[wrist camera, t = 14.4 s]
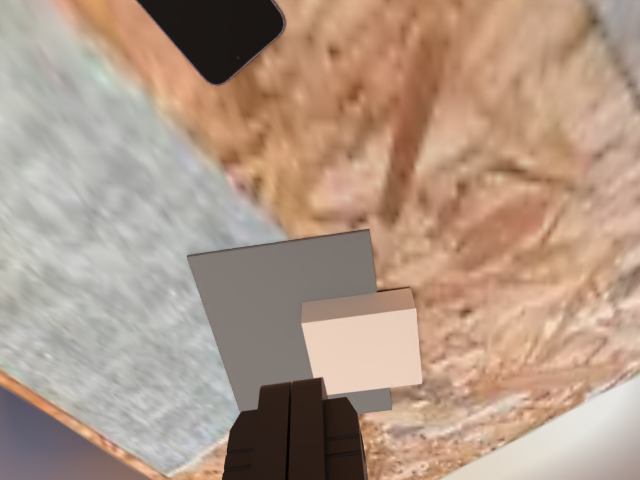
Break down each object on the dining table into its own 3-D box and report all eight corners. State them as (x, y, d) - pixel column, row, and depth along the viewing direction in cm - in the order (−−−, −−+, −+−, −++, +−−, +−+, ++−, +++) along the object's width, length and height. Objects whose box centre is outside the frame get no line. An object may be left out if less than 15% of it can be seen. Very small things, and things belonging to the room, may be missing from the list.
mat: (369, 229, 43) (369, 230, 43) (391, 407, 54) (392, 409, 54) (187, 255, 44) (186, 257, 44) (245, 424, 55) (245, 427, 55)
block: (416, 308, 43) (301, 323, 44) (422, 383, 48) (317, 396, 48) (410, 287, 46) (301, 302, 47) (416, 361, 50) (317, 373, 51)
